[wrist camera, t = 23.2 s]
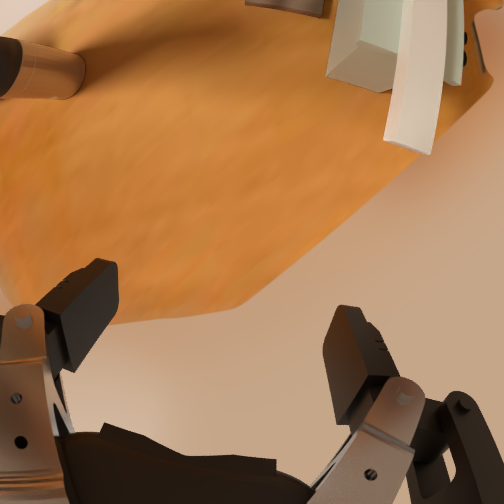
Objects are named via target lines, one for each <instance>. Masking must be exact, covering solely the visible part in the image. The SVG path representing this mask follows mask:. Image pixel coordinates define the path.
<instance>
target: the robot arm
mask: <svg viewBox="0 0 504 504" xmlns="http://www.w3.org/2000/svg"><path fill="white" fill-rule="evenodd" d="M84 76H85V63H84V60H83V59H82V58H81V57H80V56H79V55H77V54H73V53H70V52H66V51H63V50H60V49H56V48H52V47H48V46H44V45H40V44H36V43H32V42H27V41H22V40H18V39H13V38H7V37H0V99H2V98H32V99H55V100H64V99H67V98H69V97H71V96H72V95H74V94H75V93H76V92H77V90H78V89H79V88H80V86H81V84H82V82H83V80H84ZM118 304H119V291H118V267H117V264H116V262H113V261H108V260H104V259H100V258H96V259H95V260H93V261H92V262H91V263H90V264H89V265H88V266H86V267H85V268H81V269H79V270H76V271H74V272H72V273H70V274H69V275H68V276H67V277H66V278H64V279H63V282H62V281H61V282H60V283H59V284H58V285H56V287H54V288H53V289H52V290H51V291H50V292H49V293H47V294H46V295H45V296H44V297H43V298H42V299H41V300H40V301H39V302H38V303H37V304H36V305H33V304H22V305H18V306H15V307H13V308H12V309H10V310H9V311H8V312H7V313H6V315H5V316H3V315H0V504H392V503H393V501H394V499H395V497H396V495H397V493H398V491H399V489H400V486H401V484H402V482H403V480H404V478H405V476H406V478H407V483H408V488H409V493H410V498H411V504H504V463H503V461H502V458H501V456H500V453H499V451H498V448H497V446H496V444H495V441H494V439H493V437H492V435H491V432H490V430H489V428H488V426H487V424H486V422H485V420H484V417H483V415H482V413H481V411H480V409H479V407H478V405H477V403H476V402H475V401H474V399H473V398H472V397H470V396H469V395H468V394H466V393H464V392H460V391H453V392H451V393H449V395H448V396H447V397H446V398H445V400H444V401H443V402H440V401H436V400H432V399H428V398H425V394H424V392H423V390H422V389H421V388H420V387H419V386H418V385H417V384H416V383H415V382H413V381H412V380H409V379H407V378H404V377H400V375H399V372H398V370H397V368H396V366H395V364H394V361H393V359H392V357H391V355H390V353H389V351H387V350H388V349H387V346H386V344H385V343H384V340H383V338H382V336H381V334H380V332H379V331H378V330H377V329H376V328H375V327H374V326H373V325H372V324H371V323H370V322H367V321H366V319H365V317H364V315H363V313H362V311H361V309H360V308H359V307H353V306H346V305H339V306H338V307H337V309H336V311H335V314H334V316H333V320H332V322H331V324H330V327H329V329H328V332H327V334H326V337H325V340H324V343H323V358H324V363H325V367H326V372H327V377H328V382H329V387H330V392H331V397H332V402H333V408H334V413H335V418H336V424H337V425H349V427H350V431H351V433H350V434H349V436H348V437H347V438H346V440H345V441H344V443H343V444H342V446H341V447H340V449H339V450H338V451H337V453H336V454H335V455H334V457H333V458H332V460H331V461H330V462H329V463H328V465H327V466H326V467H325V469H324V470H323V471H322V472H321V474H320V475H319V476H318V477H317V478H316V480H315V481H314V482H313V483H312V484H311V485H310V486H308V485H307V484H305V483H304V482H302V481H301V480H299V479H297V478H294V477H293V476H291V475H288V474H286V473H283V472H280V471H277V470H276V459H266V458H256V457H247V456H239V455H218V456H185V455H182V454H180V453H178V452H175V451H173V450H171V449H169V448H167V447H165V446H163V445H161V444H159V443H157V442H155V441H153V440H151V439H150V438H148V437H146V436H144V435H141V434H137V433H134V432H131V431H128V430H125V429H122V428H119V427H116V426H113V425H110V424H107V423H104V424H103V426H102V429H101V431H100V433H99V432H76V433H75V431H74V428H73V426H72V422H71V419H70V414H69V410H68V406H67V401H66V396H65V391H64V386H63V380H62V376H61V373H60V371H61V370H62V368H63V369H66V370H68V371H71V372H73V373H75V371H76V370H77V368H78V367H79V365H80V364H81V362H82V361H83V360H84V358H85V357H86V355H87V354H88V352H89V351H90V349H91V348H92V346H93V345H94V343H95V342H96V341H97V339H98V338H99V336H100V335H101V334H102V332H103V331H104V329H105V328H106V327H107V325H108V324H109V322H110V321H111V320H112V318H113V317H114V316H115V314H116V312H117V309H118ZM448 448H450V451H451V454H452V457H453V460H454V463H455V467H456V474H455V477H454V479H453V480H452V482H450V479H449V475H448V471H447V468H446V465H445V462H444V458H443V455H442V454H443V453H444V452H445V451H446V450H447V449H448Z"/></svg>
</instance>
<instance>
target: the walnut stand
mask: <svg viewBox="0 0 504 504" xmlns="http://www.w3.org/2000/svg"><path fill="white" fill-rule="evenodd" d="M323 3H324V0H245V5H250V6H258V7H265V8H272V9H278V10H284V11H289V12H294V13H299V14H304V15H308V16H312V17H317V18H320V17H321V15H322V9H323Z"/></svg>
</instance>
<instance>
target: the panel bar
mask: <svg viewBox="0 0 504 504" xmlns="http://www.w3.org/2000/svg"><path fill="white" fill-rule="evenodd" d="M446 40H447V0H403V6H402V19H401V30H400V40H399V48H398V56H397V64H396V71H395V77H394V84H393V90H392V96H391V102H390V107H389V113H388V118H387V123H386V128H385V133H384V137H383V141H386V142H389V143H392V144H395V145H398V146H400V147H403V148H406V149H409V150H411V151H414V152H416V153H421V154H427V155H431V150H432V145H433V141H434V136H435V130H436V125H437V119H438V114H439V107H440V101H441V94H442V86H443V77H444V68H445V56H446Z"/></svg>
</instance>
